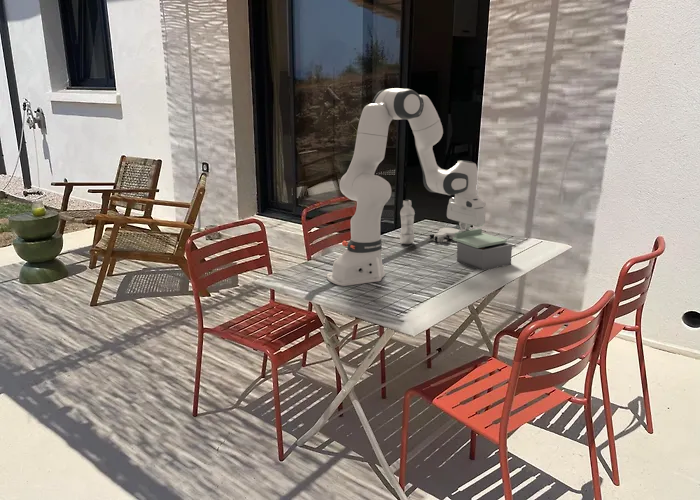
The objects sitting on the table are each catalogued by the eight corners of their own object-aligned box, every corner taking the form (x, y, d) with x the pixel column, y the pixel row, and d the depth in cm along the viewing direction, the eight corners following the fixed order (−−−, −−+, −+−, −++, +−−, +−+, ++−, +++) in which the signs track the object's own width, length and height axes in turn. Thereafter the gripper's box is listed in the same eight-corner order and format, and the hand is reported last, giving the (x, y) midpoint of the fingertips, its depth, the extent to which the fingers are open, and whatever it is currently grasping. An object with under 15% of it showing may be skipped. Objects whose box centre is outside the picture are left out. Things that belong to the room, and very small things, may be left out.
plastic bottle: (397, 242, 257) (397, 200, 252) (411, 241, 259) (411, 198, 254) (403, 246, 251) (402, 202, 246) (416, 244, 253) (417, 201, 248)
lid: (477, 248, 215) (477, 240, 214) (452, 240, 228) (452, 232, 227) (506, 242, 222) (507, 235, 221) (480, 234, 235) (481, 227, 234)
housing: (481, 270, 215) (482, 250, 213) (456, 261, 228) (457, 242, 225) (511, 264, 222) (512, 244, 219) (485, 255, 234) (485, 236, 232)
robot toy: (446, 247, 251) (465, 238, 261) (446, 238, 249) (465, 229, 259) (424, 243, 259) (444, 234, 269) (424, 233, 258) (443, 225, 268)
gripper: (443, 197, 236) (442, 229, 239) (476, 205, 218) (475, 239, 222) (455, 195, 238) (454, 227, 242) (488, 203, 221) (487, 236, 225)
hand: (464, 233), depth 232 cm, fingers closed
